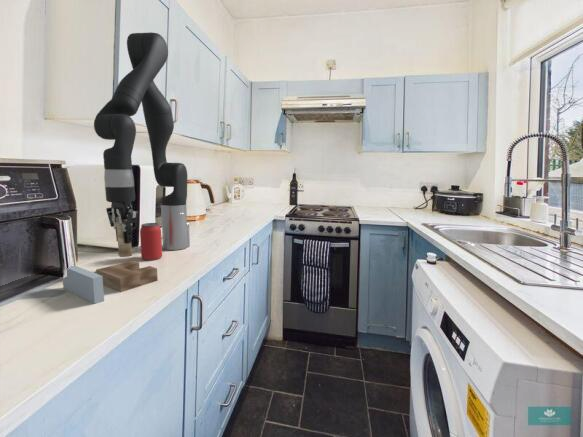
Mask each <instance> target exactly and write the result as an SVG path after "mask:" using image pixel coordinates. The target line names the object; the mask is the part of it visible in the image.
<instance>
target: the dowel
mask: <svg viewBox="0 0 583 437" xmlns="http://www.w3.org/2000/svg"><path fill="white" fill-rule="evenodd" d="M124 221H127V219H125V220H124ZM126 224H127V223H126ZM116 226H117V238H118V241H117V246H118V256H119V257H120V258H127V257H128V258H129V257H132V256H133V250H132V243H128V244H125V243H124V238H123V232H124V231H123V228H122V224H120V222H119V217H116Z"/></svg>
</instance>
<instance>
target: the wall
mask: <svg viewBox="0 0 583 437" xmlns="http://www.w3.org/2000/svg"><path fill="white" fill-rule="evenodd" d="M73 265H74V266H71V267H68V268H66V269H67V277H65V278H62V286H63V287H62V288H63V289H64V290H66V291H68V292H70V293H71V294H74V295H76V296H78V297H80V298H82V299H84V300H86V301H88V302H90V303H92V304H94V305H95V304H99V303H102V302H104V301H105V291H104V285H103V278H102V276H101V275H98V274H96V272H94V271H90V270H88V269H85V268H83V267H80V266H77V265H75V264H73Z"/></svg>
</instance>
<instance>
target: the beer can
mask: <svg viewBox="0 0 583 437" xmlns="http://www.w3.org/2000/svg"><path fill="white" fill-rule="evenodd" d="M140 226H141V227H140V230H139V237H140V238H139V239H140V254H141V256H140V257H141V259H142V260H143V261H157V260H160V259H161V258H162V257H163V239H162V227H161V226H160V223H159V222H147V223H142V224H141V225H140Z"/></svg>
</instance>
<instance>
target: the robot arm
mask: <svg viewBox="0 0 583 437" xmlns="http://www.w3.org/2000/svg"><path fill="white" fill-rule="evenodd" d="M126 47H127V52H128V57H129V60H130V64H131V68H132V70H131V71H130V72H128V73H127V74H125V76H123V77H122V79H121V80H120V81H119V83H118V85H116V86H117V87H116V88H115V90H114V93H113V95H112V98H111V99H110V100H109V101H108V102H107V103H106V104H105V105H104V106H103V107H102V108H101V109H100V111H99V112H98V113H97V114H96V115H95V118H94V122H93V128H94V133H96V135H97V136H98V137H99V138H101V139H103V140H106V141H107V140H109V141H110V140H111V141H113V140H114V143H113V146H112V147H109V148H106V149H104V150H103V153H102V154H103V156H102V158H103V166H104V167H103V168H104V172H103V174H104V175H103V176H104V177H103V179H104V191H105V199H106V201H107V203H111V206H110V207H106V213H107V217H108V221H109V224H110V227H112V228H113V229H114V230H115V237H116V238H115V239H116V242H118V238H117V226H116V217H119V222H120V224H122V228H123V231H124V232H123V238H124V243H125V244H128V243H131V244H132V243H133V230H137V226H138V220H139V210H133V206H132V202H134V201H135V200H136V191H135V178H134V173H133V172H134V171H133V163H132V162H133V161H132V154H133V149H134V144H135V141H136V136H137V127H136V124H135V122H134V120H133V118H132V117H133V116H135V115H136V114H137V113H138V110H139V109H140V106H141V105H142V111H143V117H144V120H145V121H144V122H145V125H146V129H147V134H148V139H149V143H150V144H149V145H150V149H151V151H150V152H151V157H152V166H153V174H154V178H155V181H156V183H157V185H159V186H160V187H162V188H163V187H165V188H172V190H173V191H172V192H171V193H169V194H167V195H163V196H162V197H161V198H160V209H161V210H160V212H161V213H160V214H161V238H162V250H166V251H178V250H184V249H187V248H188V247H190V246H191V245H190V243H191V242H190V240H191V239H190V223H189V222H188V215H187V212H188V211H187V198H188V170H187V167H186V166H185V164H184V163H182V162H168V161H167V157H166V156H167V154H166V153H167V146H168V143H169V141H170V140H171V137H172V135H173V131H174V130H175V129H174V128H175V122H174V116H173V112H172V108H171V104H170V102H168V99H166V97H165V96H164V94H163V93H162V92H161V91H160V89H159V88H158V86H157V85H156V83H155V81H154V80H155V78H156V77H157V75H158V74H159V72H160V71H161V70H162V68H163V67H164V65H165V64H166V62H167V60H168V56H169V49H168V48H169V47H168V44H167V42H166V40H165V38H164V37H163V36H162V35H161V34H160V33H157V32H152V31H151V32H134V33H129V34H128V36H127V38H126ZM125 219H127V221H124V220H125ZM126 223H127V224H126Z"/></svg>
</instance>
